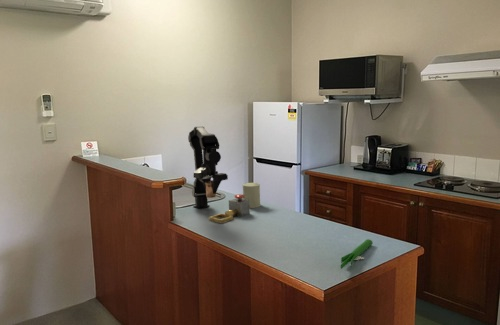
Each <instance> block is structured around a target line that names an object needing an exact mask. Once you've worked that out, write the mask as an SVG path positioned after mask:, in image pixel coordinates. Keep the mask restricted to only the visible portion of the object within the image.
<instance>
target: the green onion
mask: <svg viewBox="0 0 500 325" xmlns="http://www.w3.org/2000/svg"><path fill="white" fill-rule="evenodd" d="M372 245H373V240H371V239H369V238H367V239H365V240H364V241H363V242H362V243H361V244H359V245H358V246H357V247H356V248H354V249H353V250H352V251H351V252H350V253H347V254H346V255H344V256H341V258H340V263H341V264H340V269H341V270H342V269H343V268H344V267H346V265H348V264H349V263H350V265H351V266H353V262H354V261H359V260H363V259H365V258H364V257H363V256H362V255H361V254H363V253H364V252H365V251H366V250H367V249H368V248H370V247H371V246H372Z"/></svg>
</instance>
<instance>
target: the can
mask: <svg viewBox="0 0 500 325" xmlns="http://www.w3.org/2000/svg"><path fill="white" fill-rule="evenodd" d="M260 186H261V184H260V183H258V182H247V183H243V184H242V195H245V197H244V198H243V199H248V200H249V209H254V208H256V209H257V208H258V207H261V188H260Z"/></svg>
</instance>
